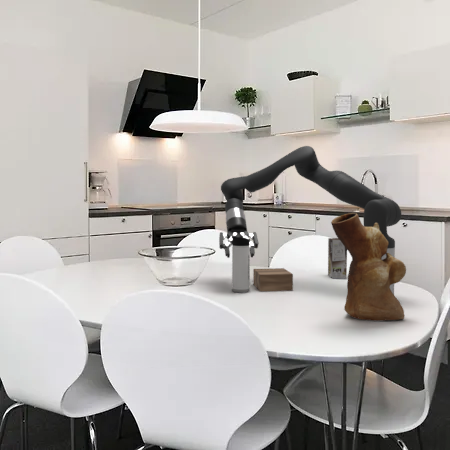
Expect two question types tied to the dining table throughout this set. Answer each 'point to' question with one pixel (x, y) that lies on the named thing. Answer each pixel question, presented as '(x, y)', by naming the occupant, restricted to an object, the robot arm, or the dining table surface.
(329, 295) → the dining table surface
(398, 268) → the ceramic vessel
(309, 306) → the dining table surface
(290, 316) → the dining table surface
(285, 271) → the walnut block
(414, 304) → the dining table surface
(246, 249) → the travel mug
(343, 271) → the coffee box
